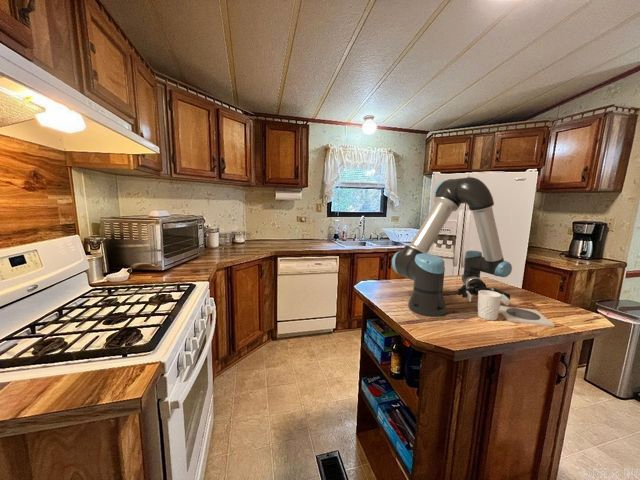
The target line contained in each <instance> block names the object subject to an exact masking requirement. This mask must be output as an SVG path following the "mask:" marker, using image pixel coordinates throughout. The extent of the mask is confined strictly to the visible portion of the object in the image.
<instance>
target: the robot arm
mask: <svg viewBox="0 0 640 480" xmlns="http://www.w3.org/2000/svg"><path fill="white" fill-rule="evenodd" d="M433 202H434V204H433V206H432V208H431V209H430V211H429V213H428V215H427V216H426V218H425V220H424V221H423V223H422V224H421V226H420V228H419V229H418V231H417V233H416V234H415V236H414V237H413V239H412V240H411V242H410V244H409V243H408V244H406V245H405V246H404V248H403V249H402V250H399V251H397V252H395V253H394V255H393V256H392V259H391V267H392V270H394V272H395V273H396V274H398V275H399V276H401V277H404V278H407V279H409V280H411V281H413V290H412V292H411V294H410V297H409V299H408V304H407V305H408V306H407V307H409V308H408V309H409V310H410V311H411V310H412V311H411V312H413V313H416V314H418V315H423V316H426V317H427V316H428V317H441V316H444V315H445V314H446V313H447V306H446V303H445V302H446V301H445V299H444V295H443V291H444V281H445V271H446V268H445V261H444V259H443V258H442V257H440V256H438V255H435V254H431V253H428V252H429V250H430V248H431V247H432V245H433V244H434V242H435V241H436V239H437V237H438V236H439V234H440V232H441V231H442V229H443V227H444V226H445V224H446V223H447V220H448V219H449V217H450V216H451V214H453V213H452V212H456V211H458V209H459V208H460V206H461V205H462V204H467V205H468V209H469V211H470V212H472V215H473V219H474V222H475V227H476V230H477V234H478V239H479V242H480V247H481V250H482V251H478V250H467V251H466V252H465V255H464V264H463V265H464V267H463V273H462V275H461V281H462V286H461V287H459V288H458V289H457V295H458V296H461V295H462V296H461V298H463V299H464V298H466V300H467V301H468V302H472V295H474V296H478V291H480V290H488V291H494V292H497V293H500V294H501V295H502V296H501V302H502V303H503V304H504V306H506V307H510V306H509V304H510V300H511V293H508V292H505V291H503V290H500V289H498V288H496V287H492V288H491V287H488V286H487V285H486V283H485V282H484V280H483V279H481V273H485V274H489V275H493V276H495V277H500V278H507V277H508V276H510V275H511V273H512V271H513V266H512V264H511V262H509V261H508V260H504V255H503V250H502V247H501V241H500V237H499V233H498V229H497V225H496V224H497V223H496V220H495V216H494V211H493V206H494V205H495V202H494V197H493V195H492V193H491V191H490V189H489V188H488V186H487V185H486V184H485V183H484V182H483V181H482V180H480V179H479V178H476V177H472V176H470V177H468V176H467V177H462V178H460V177H459V178H449V179H446V180H442V181H440V182H439V183H438V184H437V185H436V187H435V189H434V198H433Z"/></svg>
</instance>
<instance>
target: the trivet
mask: <svg viewBox="0 0 640 480" xmlns="http://www.w3.org/2000/svg"><path fill="white" fill-rule="evenodd" d="M499 313H500V314H501V315H502V317H504V318H505V320H506V321H507V322H512V323H513V322H515V323H521V324H531V325H536V326H537V325H538V326H546V327H555V324H554V323H553V322H552V321H551V320H550V319H548V318H547V317H546V316H544V315H543V314H542V313H540V311H538V310H537V309H533V308H532V309H531V308H521V307H513V306H506V305H500V308H499Z"/></svg>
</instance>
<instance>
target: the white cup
mask: <svg viewBox="0 0 640 480" xmlns="http://www.w3.org/2000/svg"><path fill="white" fill-rule="evenodd" d="M501 296H502V295H501V294H500V293H497V292H494V291H488V290H480V291H478V295H477V316H478V317H479V318H480V319H483V320H487V321H497V320H498V319H499V317H498V316H499V313H500V312H499V308H500V306H501V302H502V301H501Z"/></svg>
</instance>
